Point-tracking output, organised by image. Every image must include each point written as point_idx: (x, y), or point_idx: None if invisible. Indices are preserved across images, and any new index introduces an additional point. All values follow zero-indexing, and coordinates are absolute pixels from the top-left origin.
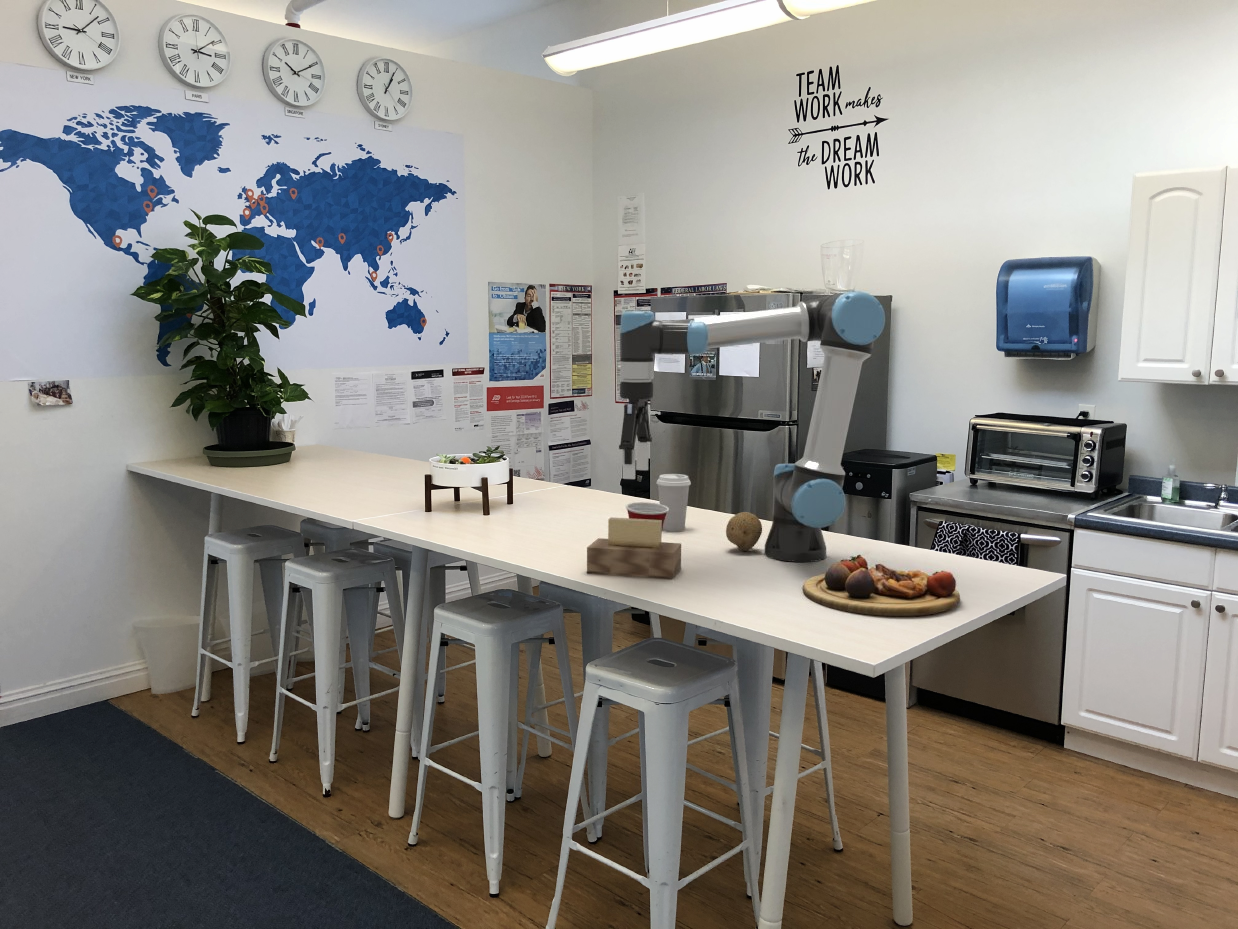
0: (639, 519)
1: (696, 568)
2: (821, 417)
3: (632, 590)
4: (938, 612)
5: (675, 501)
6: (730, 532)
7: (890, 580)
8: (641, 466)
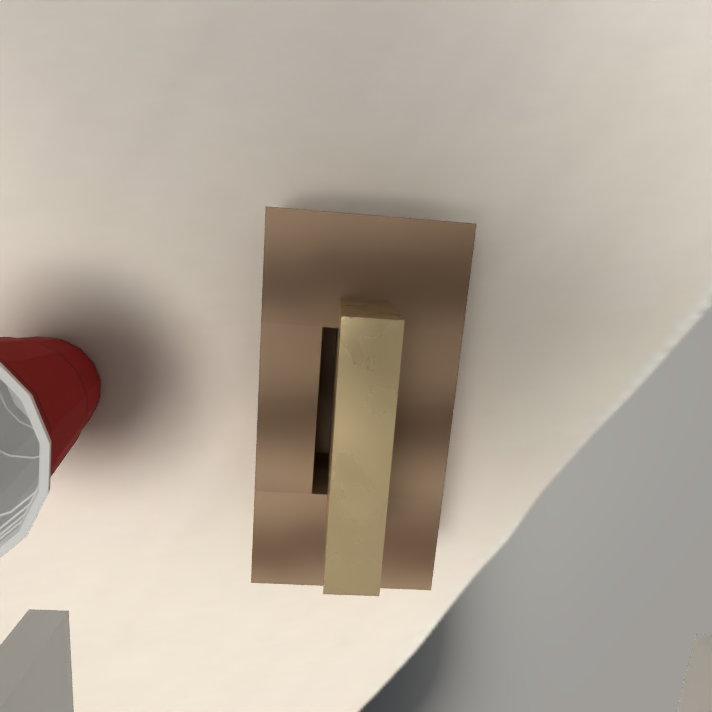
0: (347, 443)
1: (259, 146)
2: None
3: (613, 349)
4: None
5: None
6: None
7: None
8: (48, 709)
